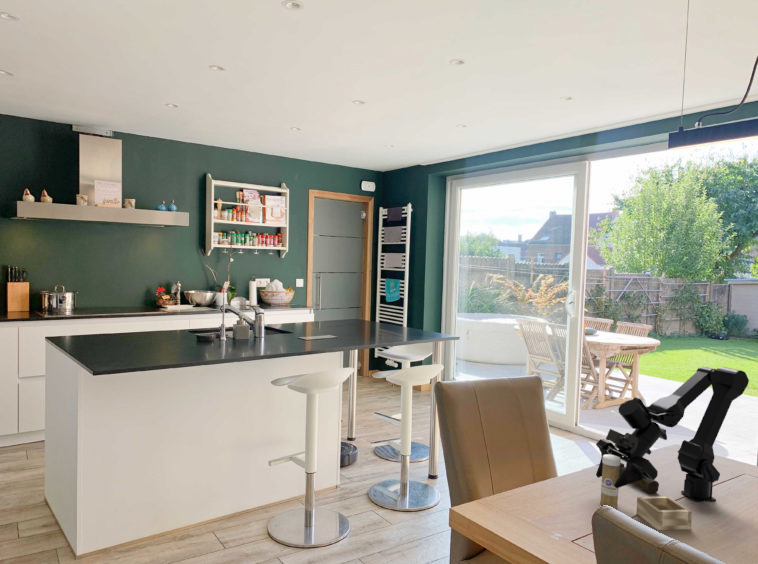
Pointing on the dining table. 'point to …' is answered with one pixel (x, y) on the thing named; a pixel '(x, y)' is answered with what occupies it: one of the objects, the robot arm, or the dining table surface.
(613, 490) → the sprinkles bottle
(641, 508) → the beech holder
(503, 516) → the dining table surface
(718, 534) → the dining table surface
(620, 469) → the hand tool
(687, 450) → the robot arm
